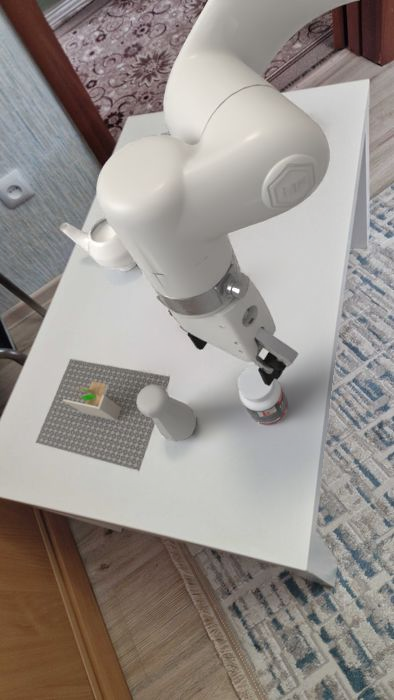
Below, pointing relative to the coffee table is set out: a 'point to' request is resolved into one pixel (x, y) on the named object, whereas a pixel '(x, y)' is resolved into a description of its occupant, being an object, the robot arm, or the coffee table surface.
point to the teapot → (102, 245)
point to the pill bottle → (262, 397)
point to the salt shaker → (166, 413)
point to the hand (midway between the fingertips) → (238, 356)
